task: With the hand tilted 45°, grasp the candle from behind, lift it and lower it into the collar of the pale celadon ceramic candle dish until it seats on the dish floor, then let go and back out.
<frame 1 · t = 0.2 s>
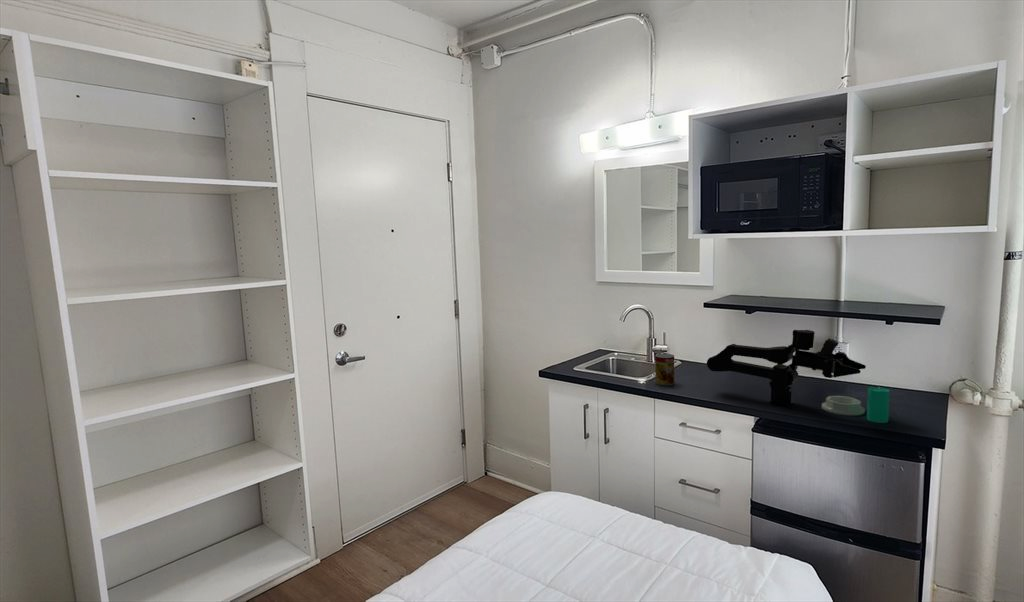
hand: (863, 369, 181), 17 cm above the worktop, tool horizontal, fingers open, 9 cm apart
candle dish: (842, 409, 191), on the worktop
candle: (877, 420, 180), on the worktop
canned food: (664, 383, 232), on the worktop
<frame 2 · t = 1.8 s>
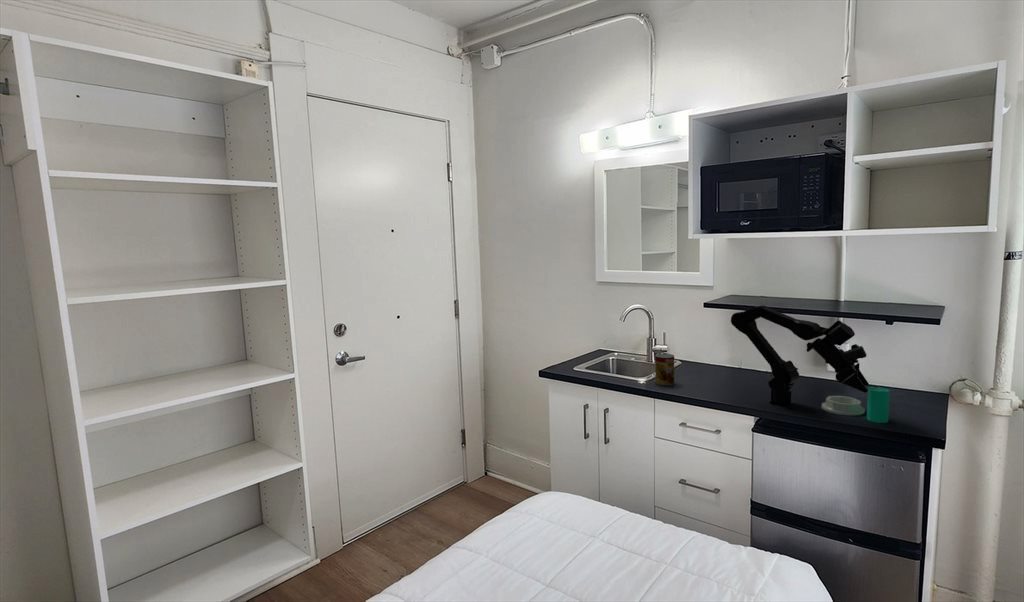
hand: (867, 388, 180), 10 cm above the worktop, tool tilted 45°, fingers open, 9 cm apart
nothing on the worktop moved.
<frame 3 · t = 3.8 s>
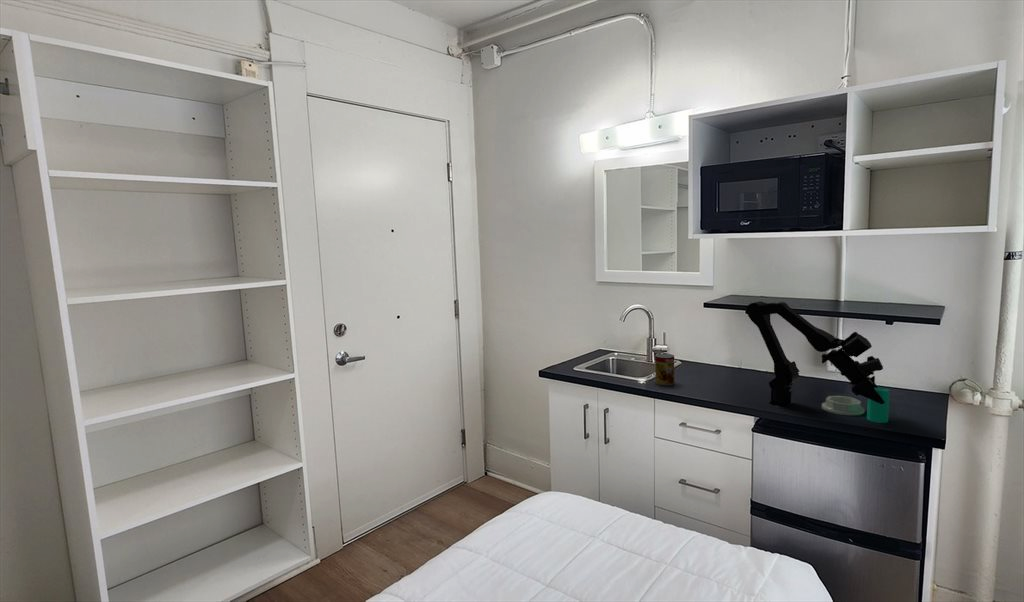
hand: (883, 401, 178), 7 cm above the worktop, tool tilted 45°, fingers closed on candle, 5 cm apart
candle: (877, 420, 180), on the worktop, touching gripper
everything else where it was.
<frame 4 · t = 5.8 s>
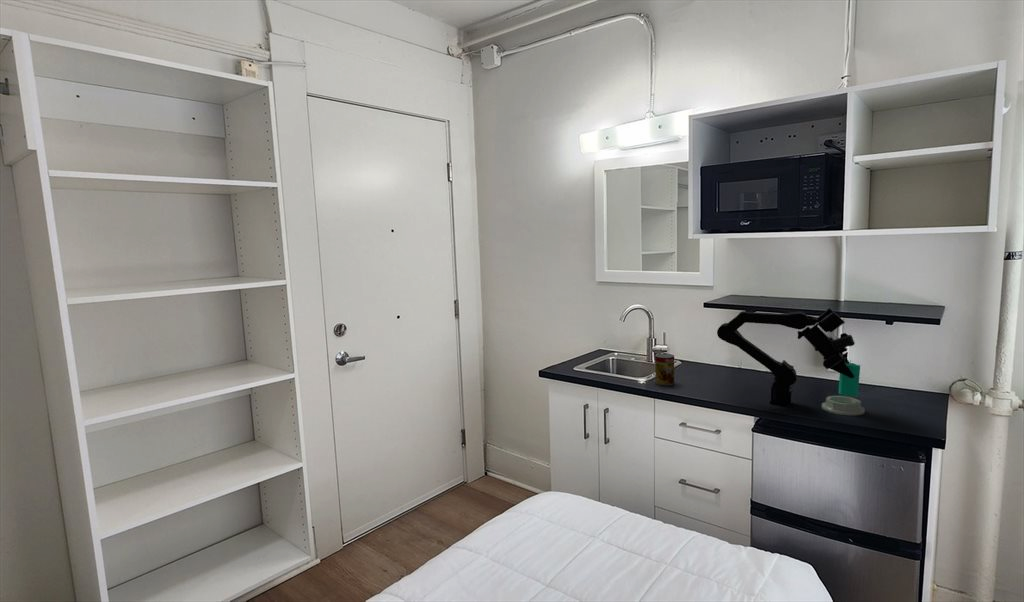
hand: (854, 375, 186), 13 cm above the worktop, tool tilted 45°, fingers closed on candle, 5 cm apart
candle: (848, 394, 188), point 6 cm above the worktop, touching gripper
everything else where it was.
when the fingers open (8 cm above the worktop, at t = 8.1 s): candle stays where it is, resting on candle dish.
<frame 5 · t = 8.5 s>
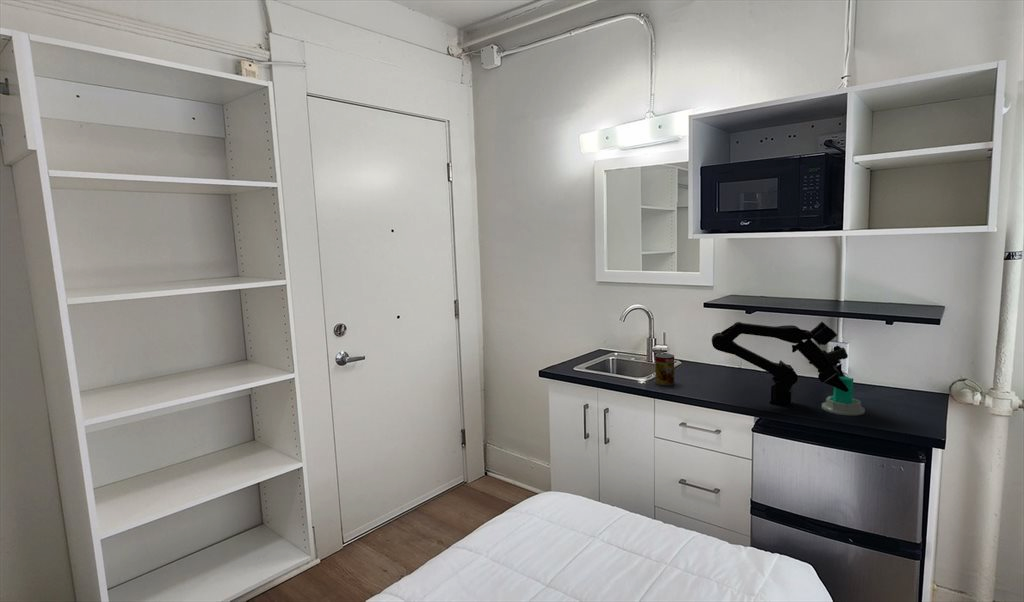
hand: (848, 388, 189), 8 cm above the worktop, tool tilted 45°, fingers open, 9 cm apart
candle: (842, 407, 191), point 1 cm above the worktop, touching candle dish
everything else where it was.
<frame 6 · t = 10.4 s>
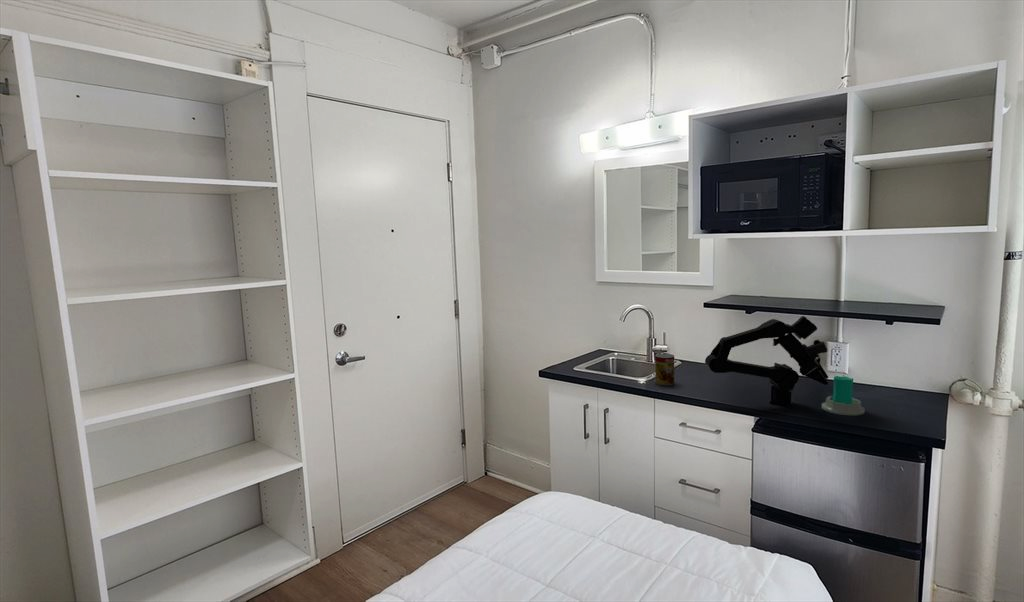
hand: (827, 381, 192), 10 cm above the worktop, tool tilted 45°, fingers open, 9 cm apart
nothing on the worktop moved.
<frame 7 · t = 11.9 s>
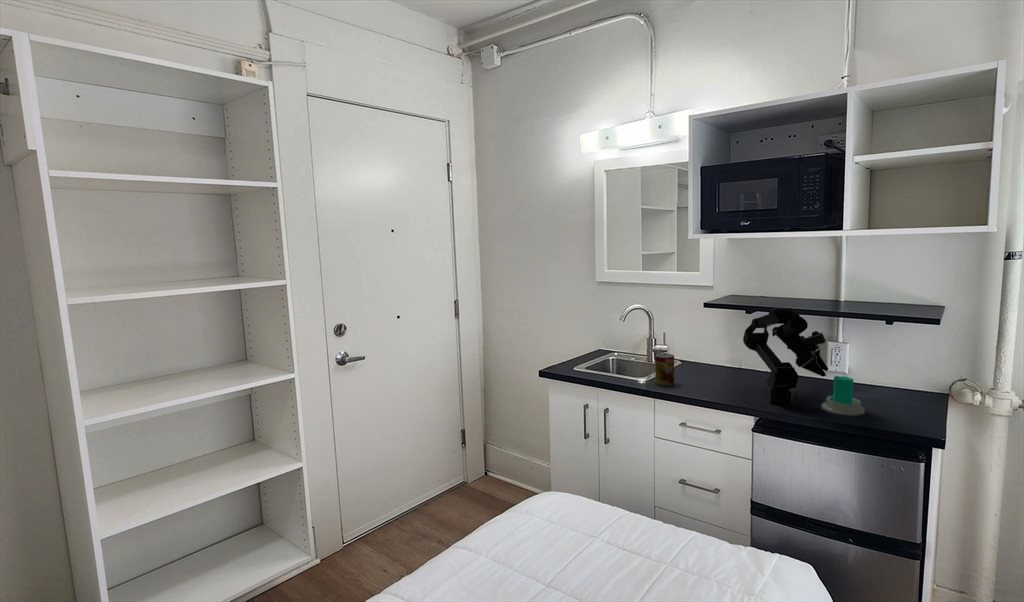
hand: (826, 373, 189), 14 cm above the worktop, tool tilted 45°, fingers open, 9 cm apart
nothing on the worktop moved.
at the end: candle 0.2 cm off-centre on the candle dish, point 0.8 cm above the candle dish's base; candle tilted 0°; the gripper is holding nothing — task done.
